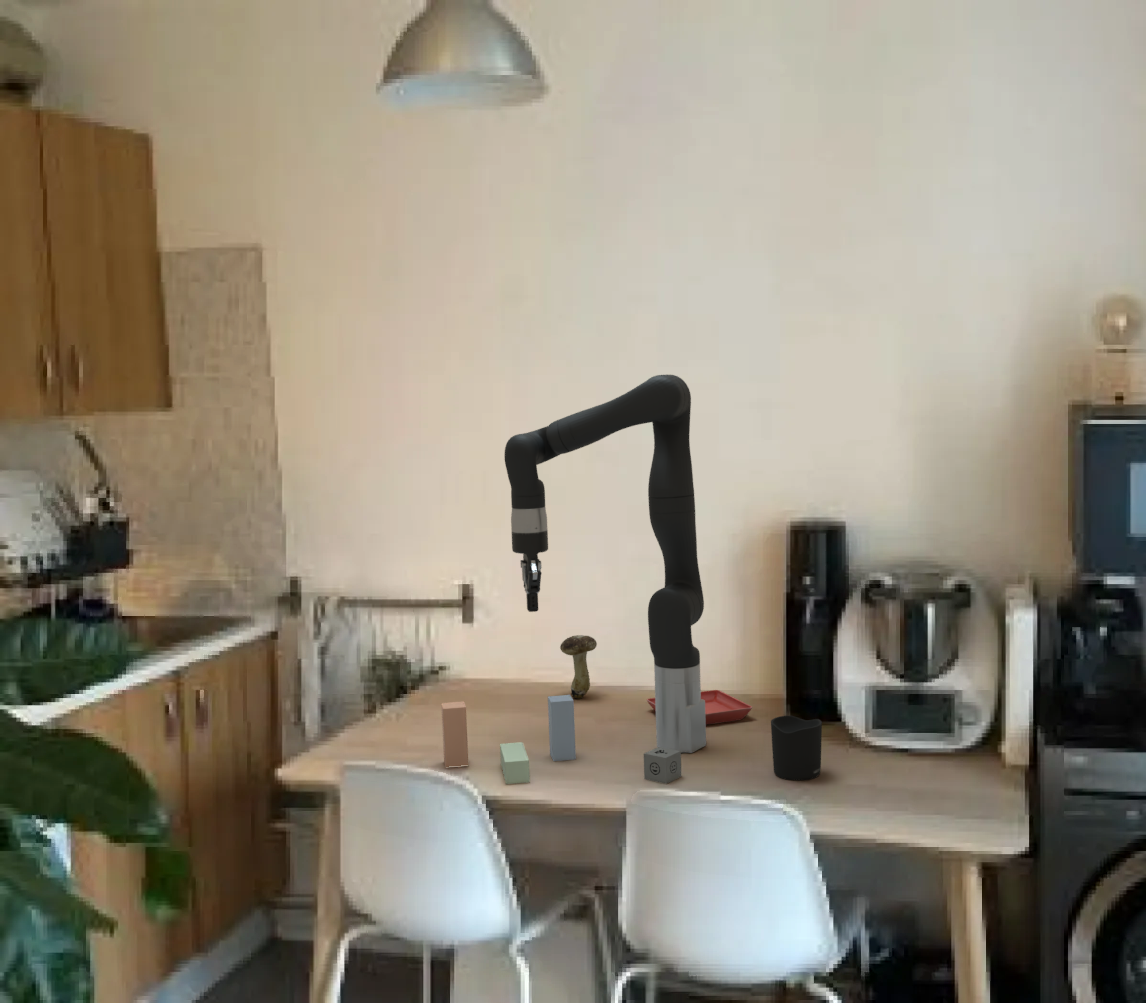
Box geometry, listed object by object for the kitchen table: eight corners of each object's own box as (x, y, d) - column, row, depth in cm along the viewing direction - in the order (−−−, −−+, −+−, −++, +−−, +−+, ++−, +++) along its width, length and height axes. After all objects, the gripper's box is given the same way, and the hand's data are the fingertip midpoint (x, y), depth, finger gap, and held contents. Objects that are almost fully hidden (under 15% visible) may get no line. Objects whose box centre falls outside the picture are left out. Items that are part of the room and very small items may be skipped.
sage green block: (522, 742, 253) (528, 760, 241) (523, 764, 253) (529, 783, 241) (499, 743, 252) (505, 762, 240) (500, 766, 253) (506, 785, 241)
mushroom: (598, 702, 296) (596, 638, 295) (561, 703, 297) (558, 640, 295) (598, 692, 306) (596, 630, 304) (562, 693, 306) (560, 631, 304)
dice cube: (659, 772, 245) (658, 746, 244) (681, 776, 242) (680, 751, 241) (644, 779, 241) (643, 753, 240) (666, 784, 238) (665, 758, 237)
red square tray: (645, 712, 288) (645, 697, 288) (718, 702, 294) (717, 688, 294) (678, 733, 271) (677, 717, 271) (754, 722, 277) (754, 707, 277)
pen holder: (785, 784, 235) (784, 731, 234) (763, 769, 244) (762, 718, 243) (831, 778, 238) (830, 725, 237) (808, 763, 247) (807, 712, 246)
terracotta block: (466, 759, 257) (464, 701, 255) (468, 766, 252) (465, 707, 251) (444, 761, 256) (441, 703, 255) (445, 768, 252) (442, 709, 250)
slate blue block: (572, 752, 259) (569, 694, 258) (575, 759, 254) (573, 700, 253) (550, 754, 258) (547, 696, 257) (553, 761, 254) (551, 702, 252)
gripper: (552, 531, 260) (555, 615, 262) (542, 524, 273) (545, 604, 275) (515, 534, 259) (519, 618, 261) (507, 526, 272) (511, 606, 274)
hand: (532, 610), depth 268 cm, fingers closed
